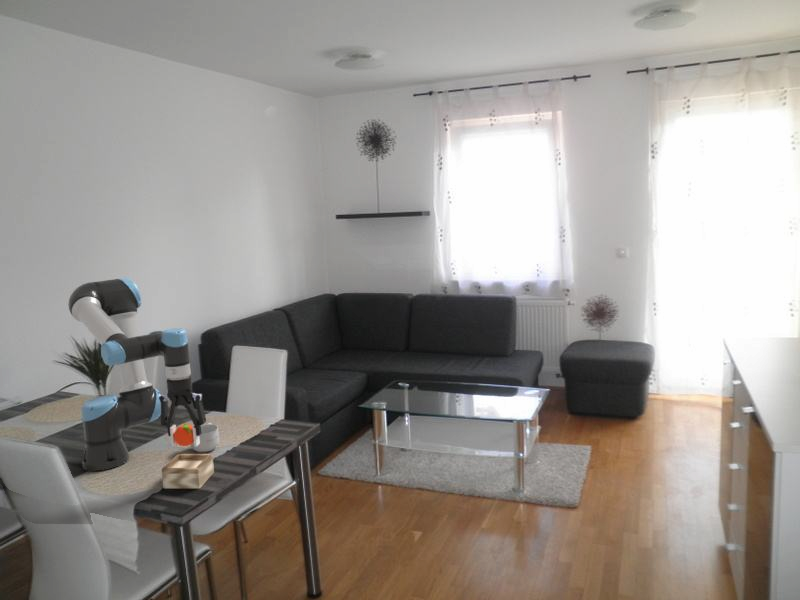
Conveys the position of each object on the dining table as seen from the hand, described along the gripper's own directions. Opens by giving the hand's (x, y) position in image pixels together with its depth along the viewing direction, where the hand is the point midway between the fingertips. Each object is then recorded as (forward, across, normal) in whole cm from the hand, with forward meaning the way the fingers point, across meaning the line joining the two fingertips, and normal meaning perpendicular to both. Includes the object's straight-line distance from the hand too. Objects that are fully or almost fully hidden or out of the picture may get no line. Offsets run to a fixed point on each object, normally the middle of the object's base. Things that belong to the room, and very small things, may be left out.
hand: (186, 445), depth 205 cm
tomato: (0, 0, 0) cm, 1 cm away
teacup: (+12, -5, +27) cm, 30 cm away
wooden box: (+12, 0, 0) cm, 12 cm away
